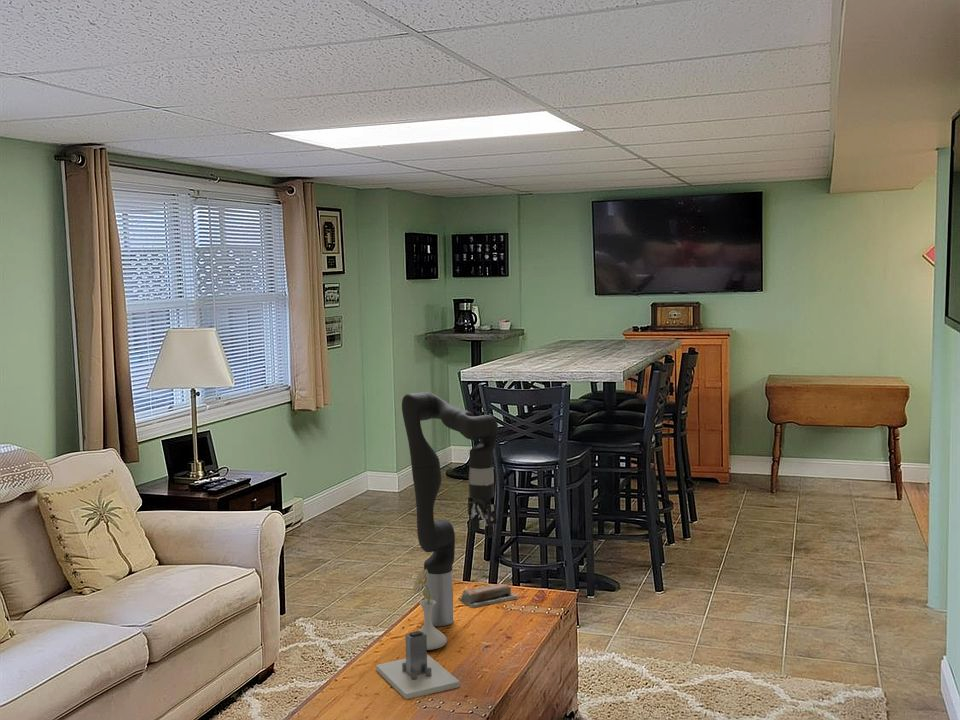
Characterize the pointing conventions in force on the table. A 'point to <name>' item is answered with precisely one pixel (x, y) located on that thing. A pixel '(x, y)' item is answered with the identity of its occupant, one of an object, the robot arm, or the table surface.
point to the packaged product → (487, 595)
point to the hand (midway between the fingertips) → (482, 534)
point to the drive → (416, 652)
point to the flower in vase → (428, 613)
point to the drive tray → (417, 678)
